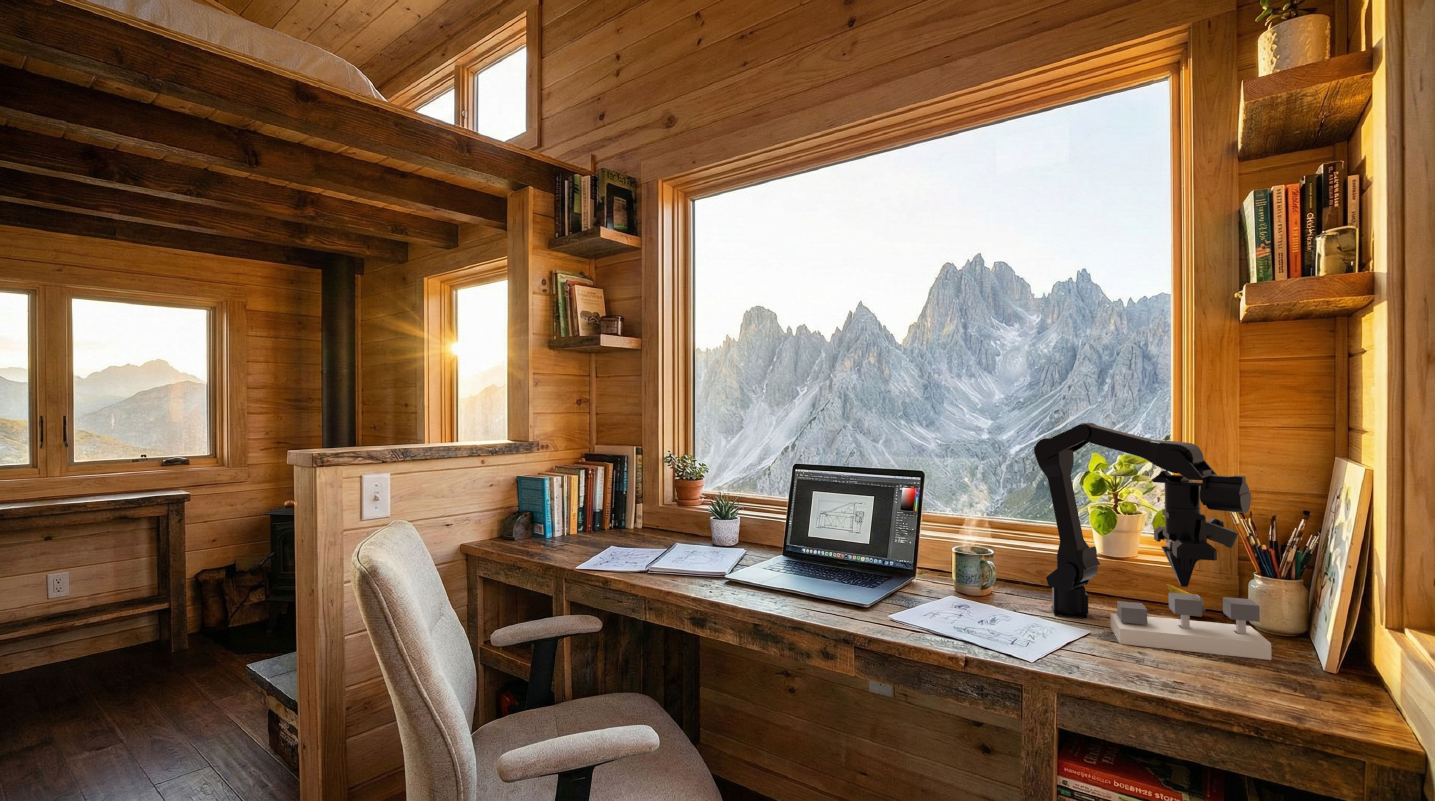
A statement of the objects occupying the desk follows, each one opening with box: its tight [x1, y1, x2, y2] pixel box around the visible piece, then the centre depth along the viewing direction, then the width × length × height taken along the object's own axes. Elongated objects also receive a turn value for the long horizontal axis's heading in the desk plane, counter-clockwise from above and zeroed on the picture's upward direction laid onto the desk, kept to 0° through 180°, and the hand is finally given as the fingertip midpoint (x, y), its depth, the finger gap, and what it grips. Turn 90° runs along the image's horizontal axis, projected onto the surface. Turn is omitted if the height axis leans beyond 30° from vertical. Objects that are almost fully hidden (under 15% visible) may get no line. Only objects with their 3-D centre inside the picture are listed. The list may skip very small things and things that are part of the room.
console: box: [1109, 612, 1272, 661], centre depth 130 cm, size 24×10×3 cm, turn 68°
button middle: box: [1168, 592, 1203, 629], centre depth 130 cm, size 4×4×6 cm
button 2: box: [1222, 596, 1261, 634], centre depth 126 cm, size 4×4×6 cm
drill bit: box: [1165, 583, 1207, 616], centre depth 146 cm, size 5×5×10 cm
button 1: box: [1116, 600, 1148, 625], centre depth 133 cm, size 4×4×6 cm
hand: (1184, 586), depth 130 cm, fingers closed
